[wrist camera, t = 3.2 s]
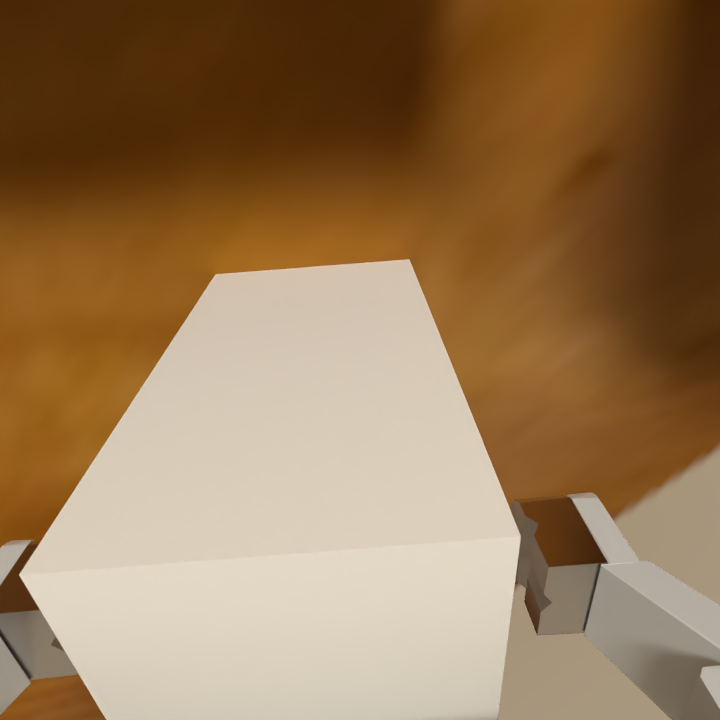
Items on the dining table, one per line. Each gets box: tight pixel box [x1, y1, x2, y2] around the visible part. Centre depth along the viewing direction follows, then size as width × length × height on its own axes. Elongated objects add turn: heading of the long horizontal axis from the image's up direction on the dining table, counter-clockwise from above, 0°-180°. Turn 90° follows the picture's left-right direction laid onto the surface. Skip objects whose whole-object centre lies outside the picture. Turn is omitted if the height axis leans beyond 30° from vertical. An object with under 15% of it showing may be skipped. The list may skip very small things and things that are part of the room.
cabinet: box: [19, 259, 521, 720], centre depth 11 cm, size 5×7×9 cm
